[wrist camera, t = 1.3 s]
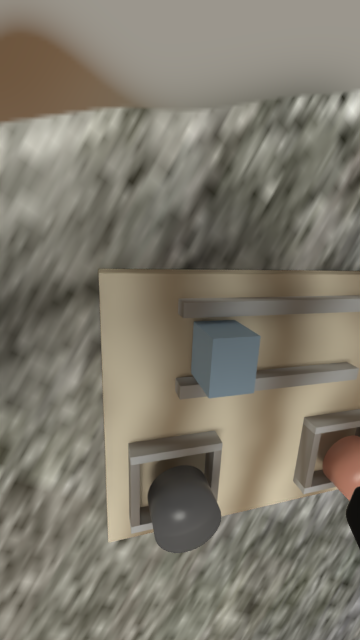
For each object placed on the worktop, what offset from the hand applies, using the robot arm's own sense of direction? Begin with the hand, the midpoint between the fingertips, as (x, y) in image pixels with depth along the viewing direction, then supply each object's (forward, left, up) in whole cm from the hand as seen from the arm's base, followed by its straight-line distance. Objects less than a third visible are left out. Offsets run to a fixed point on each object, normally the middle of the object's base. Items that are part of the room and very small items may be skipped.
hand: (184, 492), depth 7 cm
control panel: (+8, -5, -11) cm, 15 cm away
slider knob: (+4, 0, -9) cm, 10 cm away
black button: (+2, -9, -8) cm, 12 cm away
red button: (+14, -9, -8) cm, 19 cm away
